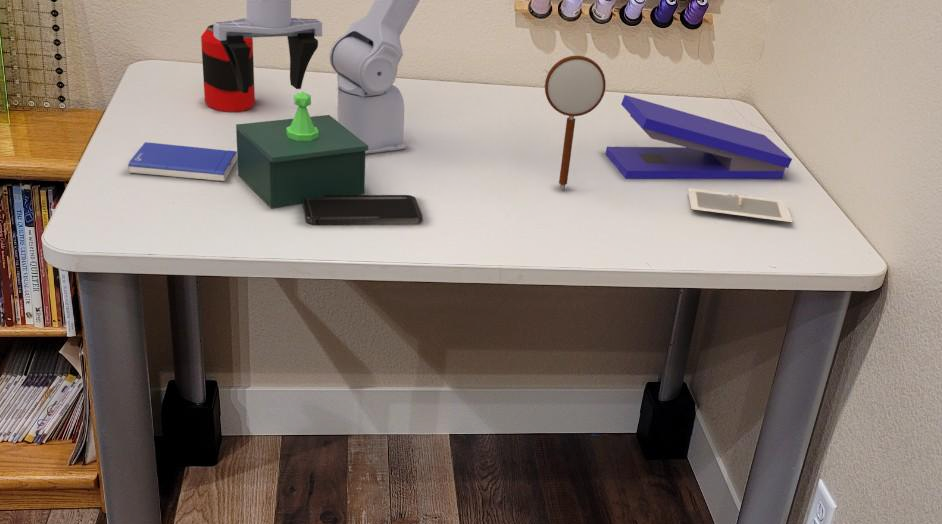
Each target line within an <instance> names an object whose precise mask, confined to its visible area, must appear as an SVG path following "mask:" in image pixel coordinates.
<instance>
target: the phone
mask: <svg viewBox="0 0 942 524" xmlns="http://www.w3.org/2000/svg"><path fill="white" fill-rule="evenodd" d="M418 203H419V202H418V201H417V198H416V197H415V196H413V195H410V194H362V195H324V197H319V198H313V199H306V200H305V199H303V204H302V206H303V214H304V219H305V223H306V224H307V225H310V226H414V225H415V226H417V225H421V224H422V222H423V214H422V211H421V208H420V205H419V204H418Z"/></svg>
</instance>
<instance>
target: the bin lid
mask: <svg viewBox="0 0 942 524" xmlns="http://www.w3.org/2000/svg"><path fill="white" fill-rule="evenodd" d="M310 118H311V121H312V123H313V126H314V127H317V129H318V132H319V137H318V138H316V139H314V140H311V141H297V140H294V139H291V138H288V136H287V133H286V128H287V127H289V126H291V123H292V121H293V119H294V117H293V118H285V119H275V120H266V121H256V122H247V123H246V122H245V123H236V125H235V130H238V131H239V132H240V133H241V134H242V135H243V136H244V137H245V138H246V139H247V140H249V141H250V142H251V143H252V144H253V145H254V146H255V147H256V148H257V149H258V150H259V151H260V152H261V153H263V154H264V155H265V156H266V157H267V158H268V159H269V160H270V161H271V162H272V163H273V162H281V161H289V160H297V159H305V158H312V157H320V156H328V155H336V154H344V153H352V152H360V151H367V150H368V145H367V144H365V143H364V142H363V141H362V140H360V139H359V138H358V137H357V136H355V135H354V134H353V133H351V132H350V131H349V130H348V129H346V128H345V127H344V126H343V125H341V124H340V123H339V122H337V119H335V118H334V117H332V116H331V115H330V114H324V115H323V114H322V115H314V116H310Z"/></svg>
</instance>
